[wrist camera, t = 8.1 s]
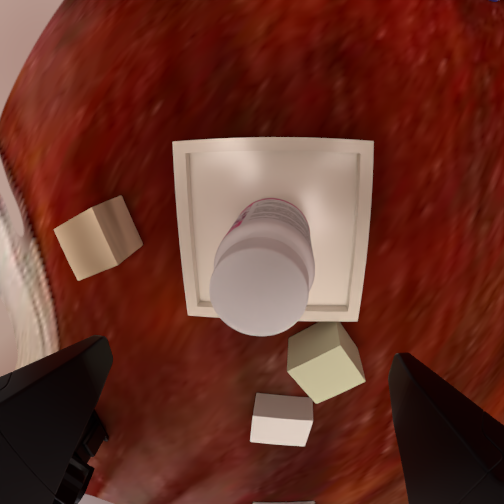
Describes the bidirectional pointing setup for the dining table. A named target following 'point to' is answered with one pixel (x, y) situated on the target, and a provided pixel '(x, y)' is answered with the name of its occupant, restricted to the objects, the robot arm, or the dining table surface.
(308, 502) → the supplement box
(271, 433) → the white block
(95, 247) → the beech block
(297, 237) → the pill bottle
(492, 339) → the dining table surface
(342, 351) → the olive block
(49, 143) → the dining table surface
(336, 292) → the tray
